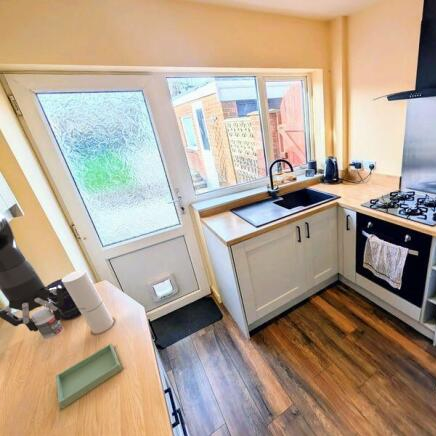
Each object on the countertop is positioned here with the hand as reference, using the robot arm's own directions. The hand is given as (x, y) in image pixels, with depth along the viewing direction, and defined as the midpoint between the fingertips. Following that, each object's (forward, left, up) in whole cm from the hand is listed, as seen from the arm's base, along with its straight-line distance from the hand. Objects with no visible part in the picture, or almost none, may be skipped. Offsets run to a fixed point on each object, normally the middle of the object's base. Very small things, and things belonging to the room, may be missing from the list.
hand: (48, 324), depth 75 cm
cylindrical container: (+10, +14, -20) cm, 26 cm away
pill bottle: (0, 0, -4) cm, 4 cm away
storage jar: (+3, +35, -20) cm, 40 cm away
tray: (+3, -8, -20) cm, 21 cm away
